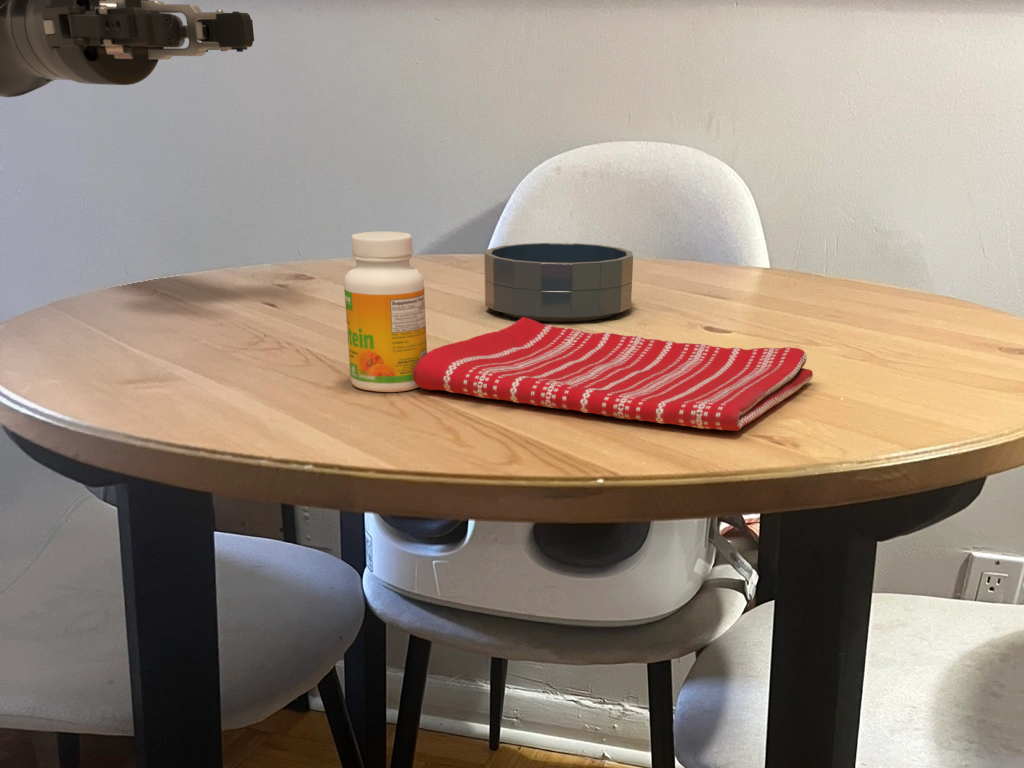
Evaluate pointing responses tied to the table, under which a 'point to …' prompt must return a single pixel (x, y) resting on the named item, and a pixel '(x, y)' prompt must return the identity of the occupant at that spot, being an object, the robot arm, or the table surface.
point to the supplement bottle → (384, 312)
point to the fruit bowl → (558, 281)
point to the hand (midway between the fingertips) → (197, 27)
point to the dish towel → (617, 375)
